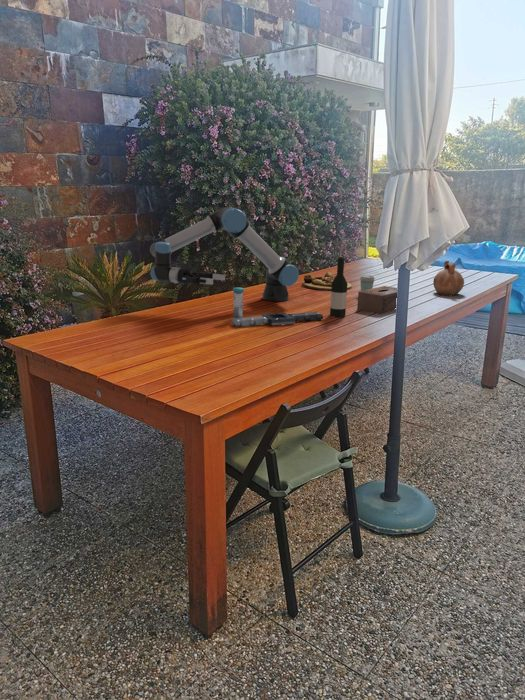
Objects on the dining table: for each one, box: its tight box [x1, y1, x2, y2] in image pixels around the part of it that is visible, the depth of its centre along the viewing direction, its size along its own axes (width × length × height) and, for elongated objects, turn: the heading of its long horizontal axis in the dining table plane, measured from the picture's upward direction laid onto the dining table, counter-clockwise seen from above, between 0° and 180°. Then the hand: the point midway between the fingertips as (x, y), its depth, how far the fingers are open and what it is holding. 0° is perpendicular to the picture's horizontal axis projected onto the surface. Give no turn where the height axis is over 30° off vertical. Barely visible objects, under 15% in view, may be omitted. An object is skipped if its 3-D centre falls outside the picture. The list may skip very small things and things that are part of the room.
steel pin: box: [232, 286, 245, 318], centre depth 273 cm, size 5×5×15 cm
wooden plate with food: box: [302, 271, 353, 292], centre depth 364 cm, size 32×32×8 cm
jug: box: [432, 260, 465, 297], centre depth 346 cm, size 18×18×20 cm
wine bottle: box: [329, 255, 348, 318], centre depth 283 cm, size 8×8×30 cm
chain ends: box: [230, 311, 324, 328], centre depth 270 cm, size 12×46×3 cm, turn 114°
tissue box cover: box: [356, 285, 398, 315], centre depth 304 cm, size 26×14×10 cm, turn 137°
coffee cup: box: [359, 274, 375, 291], centre depth 334 cm, size 8×9×12 cm
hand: (218, 279), depth 272 cm, fingers open, 13 cm apart
